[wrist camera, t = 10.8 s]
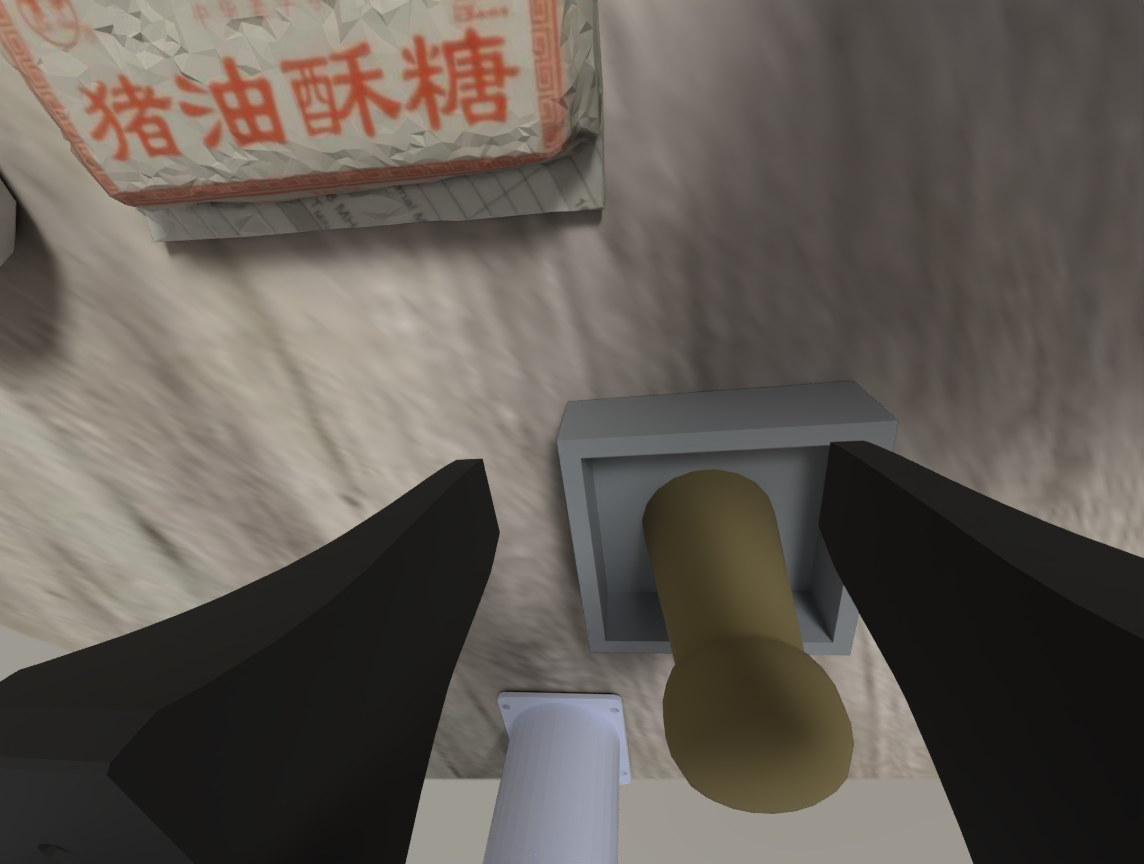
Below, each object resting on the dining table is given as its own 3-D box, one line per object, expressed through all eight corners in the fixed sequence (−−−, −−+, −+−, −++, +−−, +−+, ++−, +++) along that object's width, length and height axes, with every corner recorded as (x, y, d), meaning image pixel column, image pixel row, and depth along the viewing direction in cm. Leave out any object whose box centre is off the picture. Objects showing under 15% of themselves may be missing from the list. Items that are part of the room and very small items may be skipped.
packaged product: (576, -382, 9) (601, 216, 13) (593, -195, 13) (608, 208, 17) (-195, -197, 11) (52, 257, 15) (36, -90, 15) (177, 241, 20)
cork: (623, 549, 23) (618, 807, 14) (673, 451, 21) (711, 689, 11) (736, 586, 24) (810, 864, 14) (801, 494, 21) (949, 763, 11)
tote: (821, 593, 24) (850, 655, 21) (595, 594, 26) (590, 652, 23) (853, 380, 19) (898, 420, 16) (567, 401, 21) (556, 440, 17)
